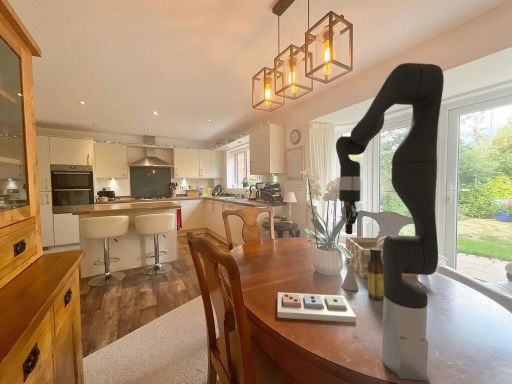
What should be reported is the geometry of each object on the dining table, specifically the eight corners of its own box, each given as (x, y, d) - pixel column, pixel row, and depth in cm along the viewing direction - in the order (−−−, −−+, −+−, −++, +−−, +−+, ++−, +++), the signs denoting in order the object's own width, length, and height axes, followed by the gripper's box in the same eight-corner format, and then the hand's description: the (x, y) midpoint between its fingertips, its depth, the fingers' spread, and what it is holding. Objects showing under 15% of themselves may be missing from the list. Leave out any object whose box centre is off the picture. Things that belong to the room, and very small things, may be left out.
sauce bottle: (384, 295, 94) (386, 248, 93) (384, 302, 88) (386, 252, 88) (367, 291, 97) (368, 245, 96) (366, 297, 92) (367, 249, 91)
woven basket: (418, 280, 109) (419, 251, 108) (361, 277, 111) (361, 249, 111) (391, 261, 135) (391, 238, 134) (345, 259, 138) (346, 236, 137)
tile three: (299, 311, 81) (300, 302, 81) (283, 309, 82) (283, 301, 82) (298, 302, 87) (298, 293, 87) (282, 301, 88) (282, 293, 88)
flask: (360, 292, 96) (361, 269, 96) (342, 290, 98) (343, 267, 97) (356, 285, 103) (357, 263, 103) (340, 283, 105) (340, 262, 104)
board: (355, 322, 75) (355, 316, 75) (277, 317, 78) (277, 311, 78) (343, 300, 89) (343, 295, 89) (277, 297, 92) (277, 292, 92)
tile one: (346, 313, 80) (346, 304, 79) (328, 312, 80) (328, 303, 80) (341, 304, 85) (341, 296, 85) (325, 303, 86) (325, 295, 86)
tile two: (322, 312, 80) (322, 303, 80) (305, 311, 81) (305, 302, 81) (319, 303, 86) (319, 295, 86) (303, 302, 87) (303, 294, 87)
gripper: (366, 189, 79) (365, 238, 80) (354, 188, 93) (353, 230, 93) (344, 189, 80) (343, 237, 81) (335, 188, 93) (334, 230, 94)
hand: (348, 233), depth 87 cm, fingers closed
